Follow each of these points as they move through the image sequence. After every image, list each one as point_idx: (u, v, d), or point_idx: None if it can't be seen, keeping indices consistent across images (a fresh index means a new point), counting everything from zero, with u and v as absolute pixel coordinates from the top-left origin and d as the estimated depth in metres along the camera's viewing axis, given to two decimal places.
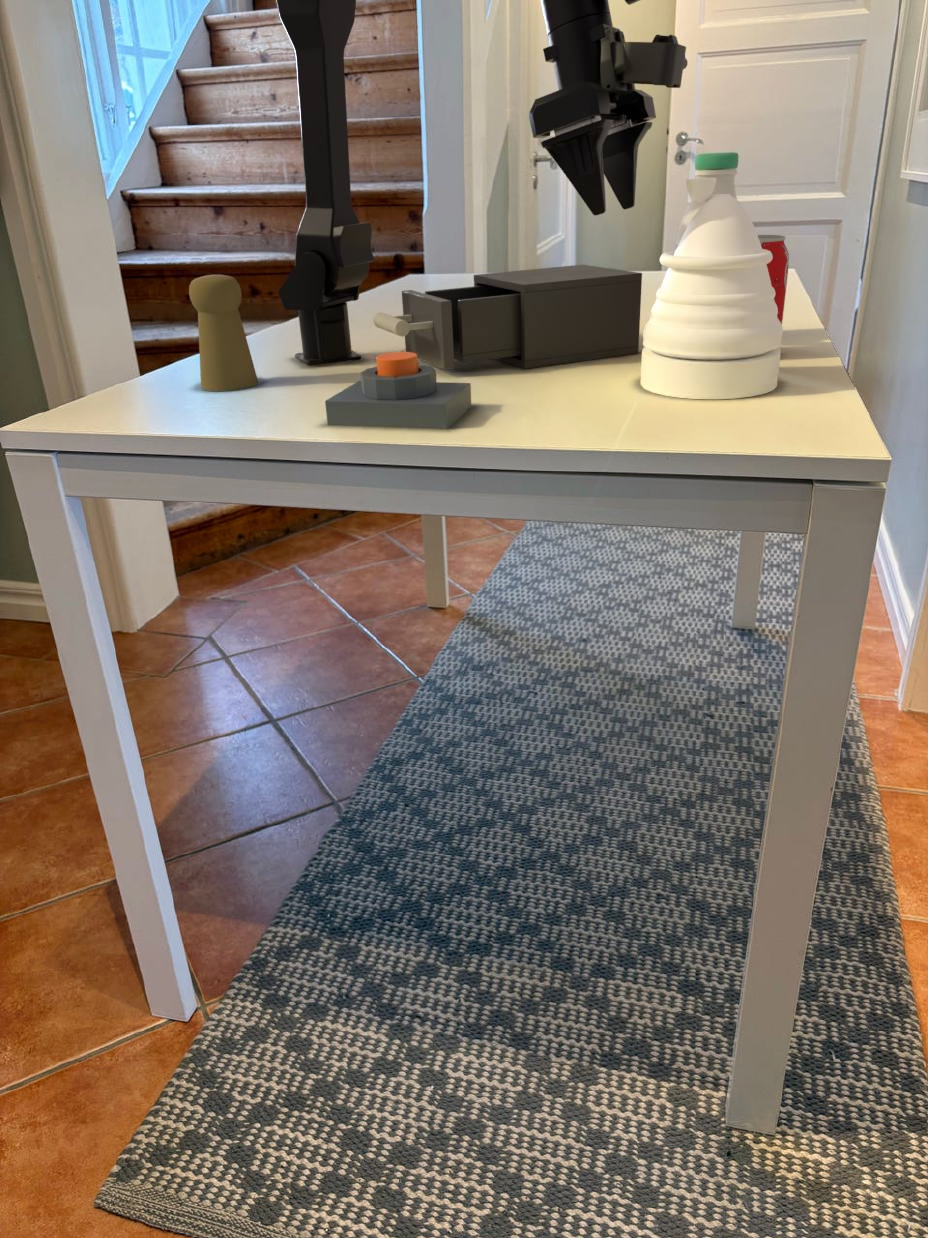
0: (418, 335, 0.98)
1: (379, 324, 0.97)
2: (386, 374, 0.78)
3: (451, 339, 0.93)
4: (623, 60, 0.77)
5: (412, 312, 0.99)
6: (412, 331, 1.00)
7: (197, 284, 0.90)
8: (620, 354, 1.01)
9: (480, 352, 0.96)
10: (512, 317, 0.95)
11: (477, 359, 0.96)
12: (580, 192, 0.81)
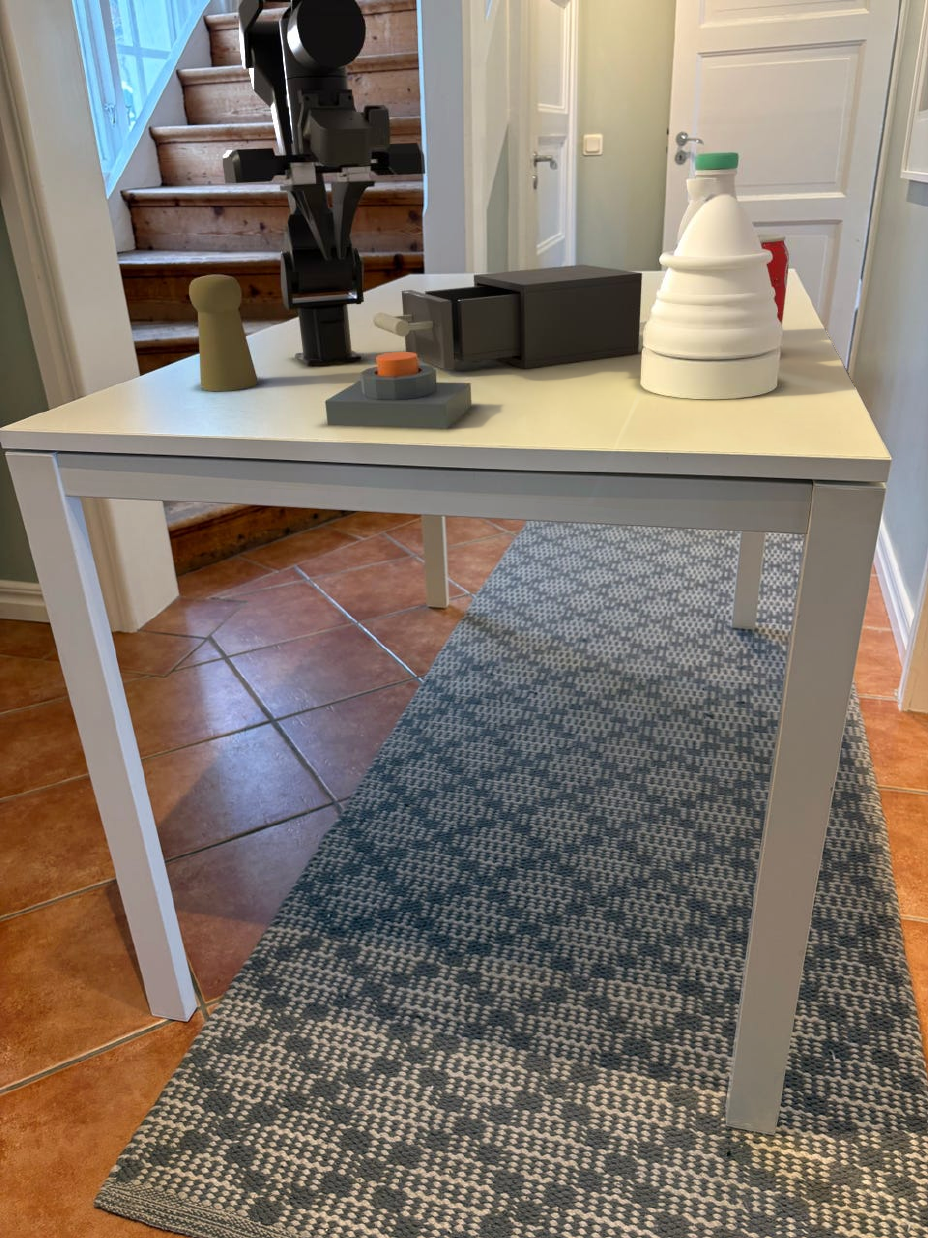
0: (418, 335, 0.98)
1: (379, 324, 0.97)
2: (386, 374, 0.78)
3: (451, 339, 0.93)
4: (306, 130, 0.81)
5: (412, 312, 0.99)
6: (412, 331, 1.00)
7: (197, 284, 0.90)
8: (620, 354, 1.01)
9: (480, 352, 0.96)
10: (512, 317, 0.95)
11: (477, 359, 0.96)
12: (314, 236, 0.90)
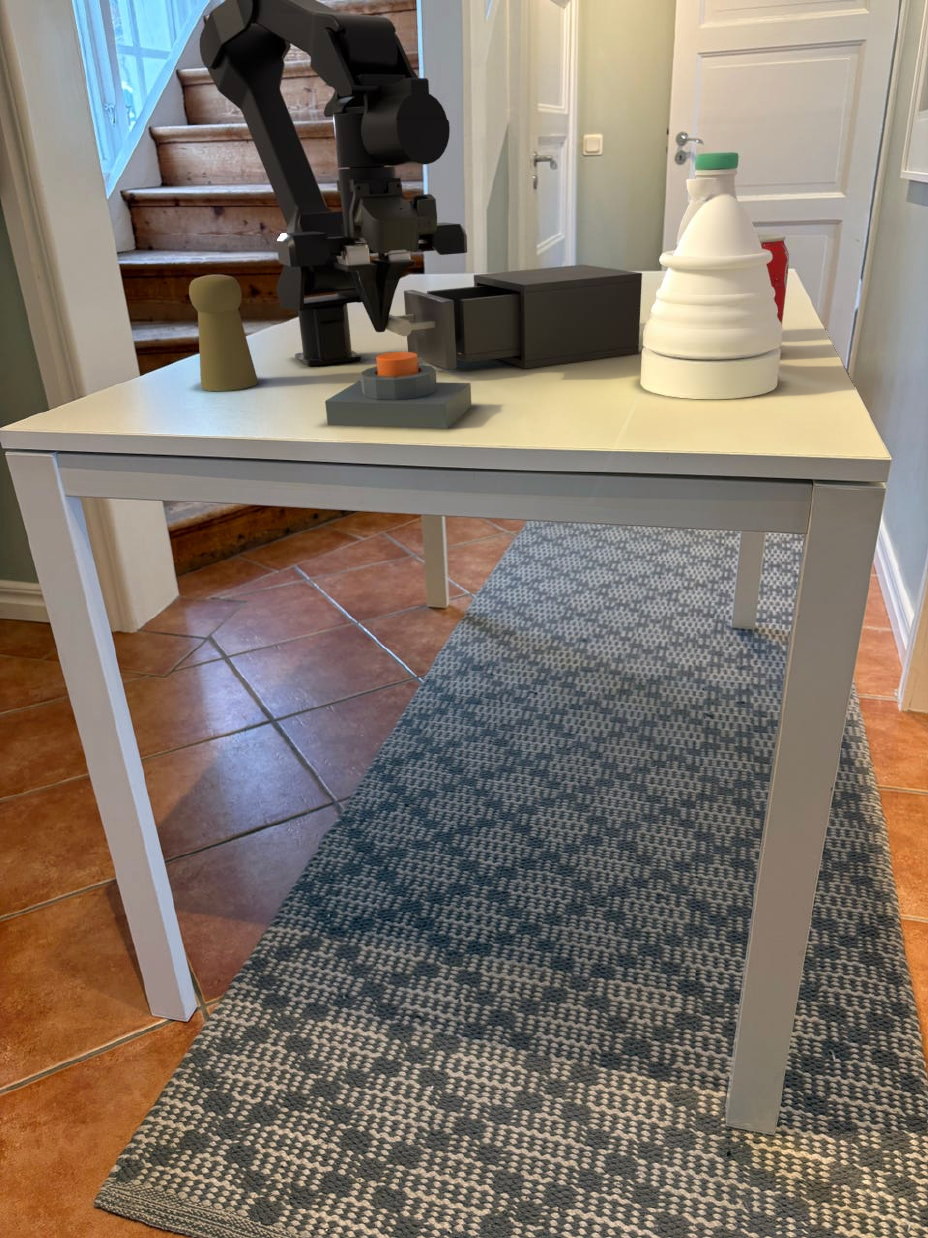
0: (420, 335, 0.99)
1: None
2: (386, 374, 0.78)
3: (453, 339, 0.93)
4: (357, 217, 0.86)
5: (415, 312, 0.99)
6: (414, 331, 1.00)
7: (197, 284, 0.90)
8: (620, 354, 1.01)
9: (482, 352, 0.96)
10: (514, 316, 0.96)
11: (479, 359, 0.96)
12: (366, 309, 0.95)
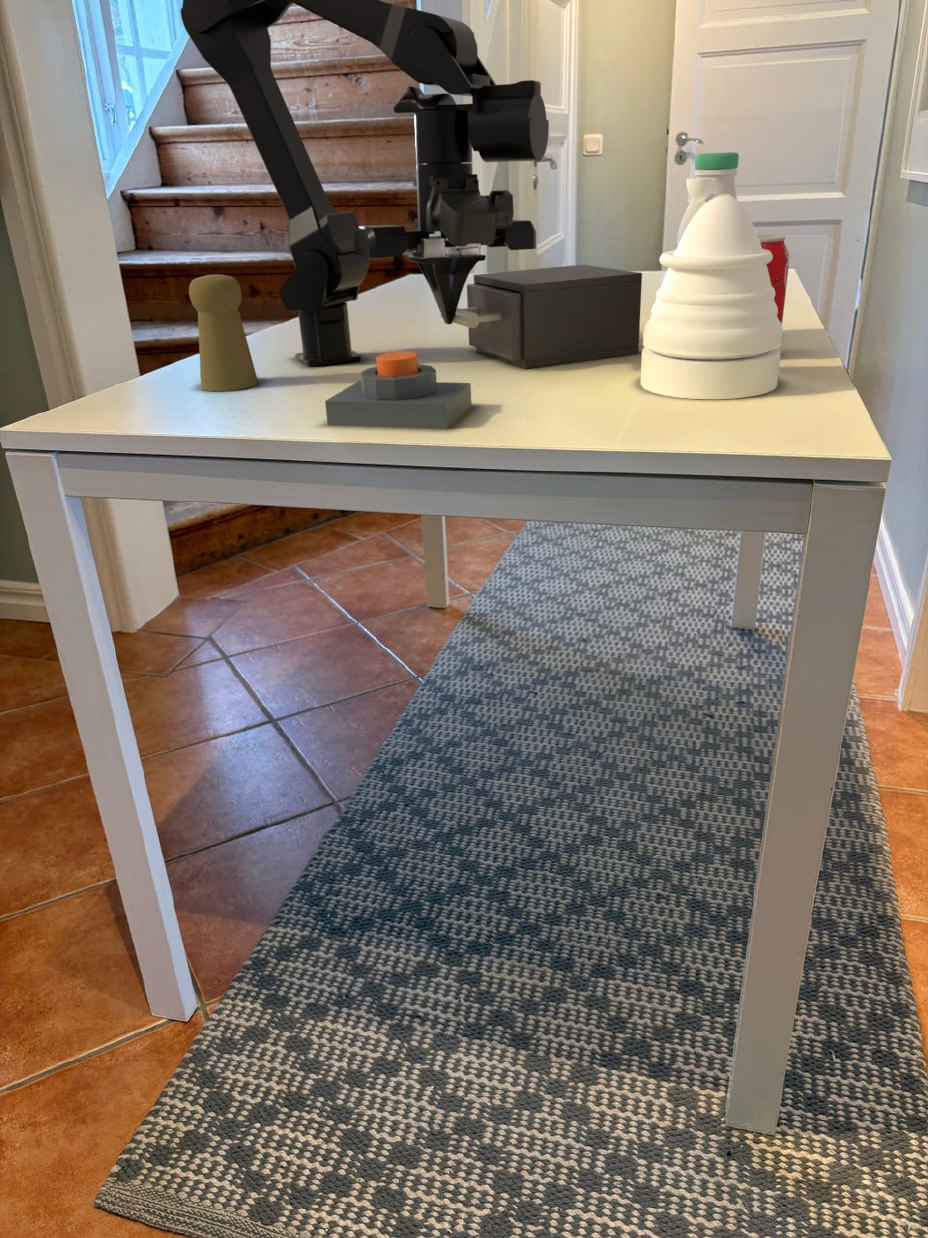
0: (484, 327, 1.01)
1: None
2: (386, 374, 0.78)
3: (520, 331, 0.96)
4: (436, 211, 0.89)
5: (478, 305, 1.01)
6: (477, 323, 1.03)
7: (197, 284, 0.90)
8: (620, 354, 1.01)
9: None
10: None
11: None
12: (436, 302, 0.98)
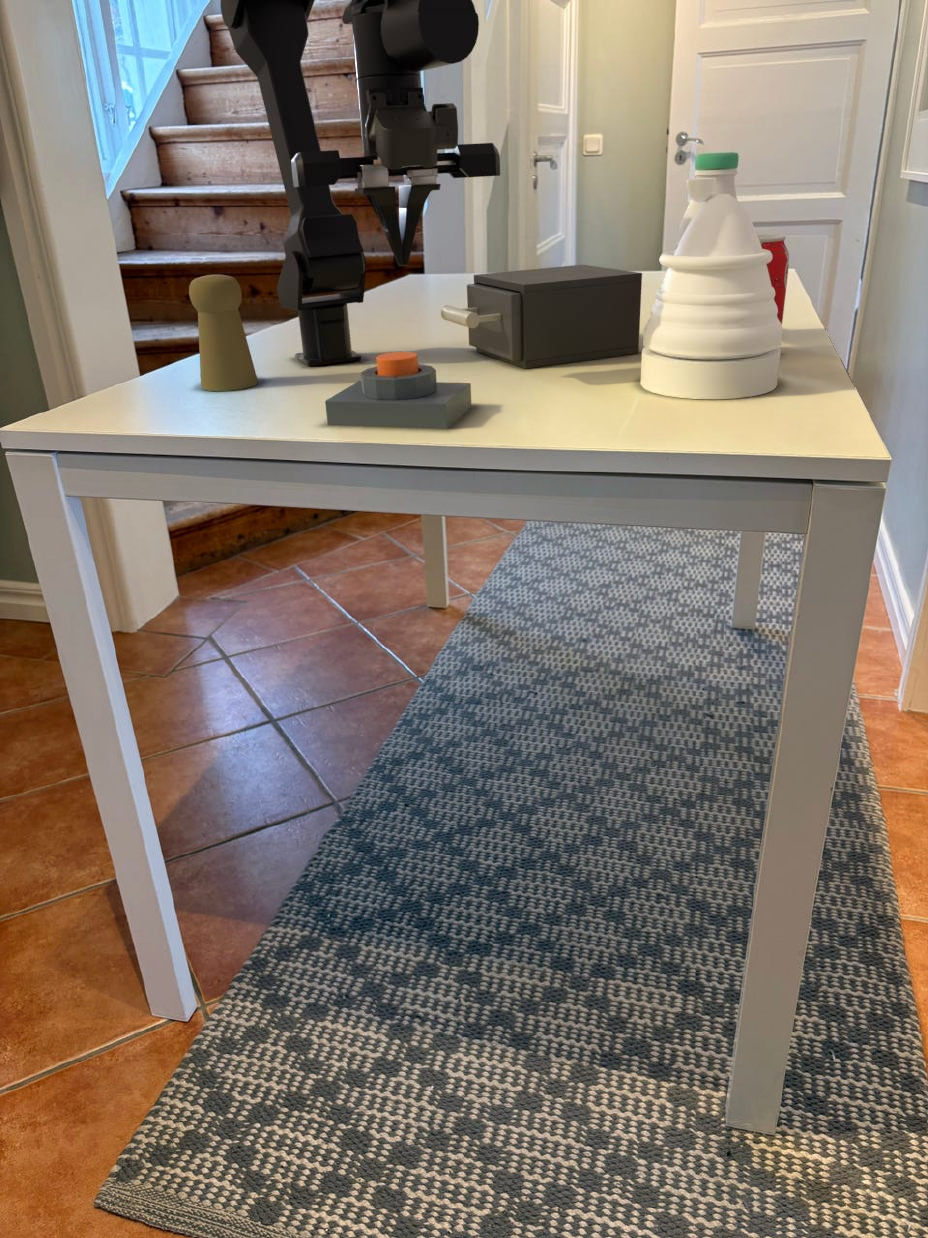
0: (484, 327, 1.01)
1: (447, 316, 0.99)
2: (386, 374, 0.78)
3: (520, 331, 0.96)
4: (371, 131, 0.78)
5: (478, 305, 1.01)
6: (477, 323, 1.03)
7: (197, 284, 0.90)
8: (620, 354, 1.01)
9: None
10: None
11: None
12: (388, 241, 0.87)
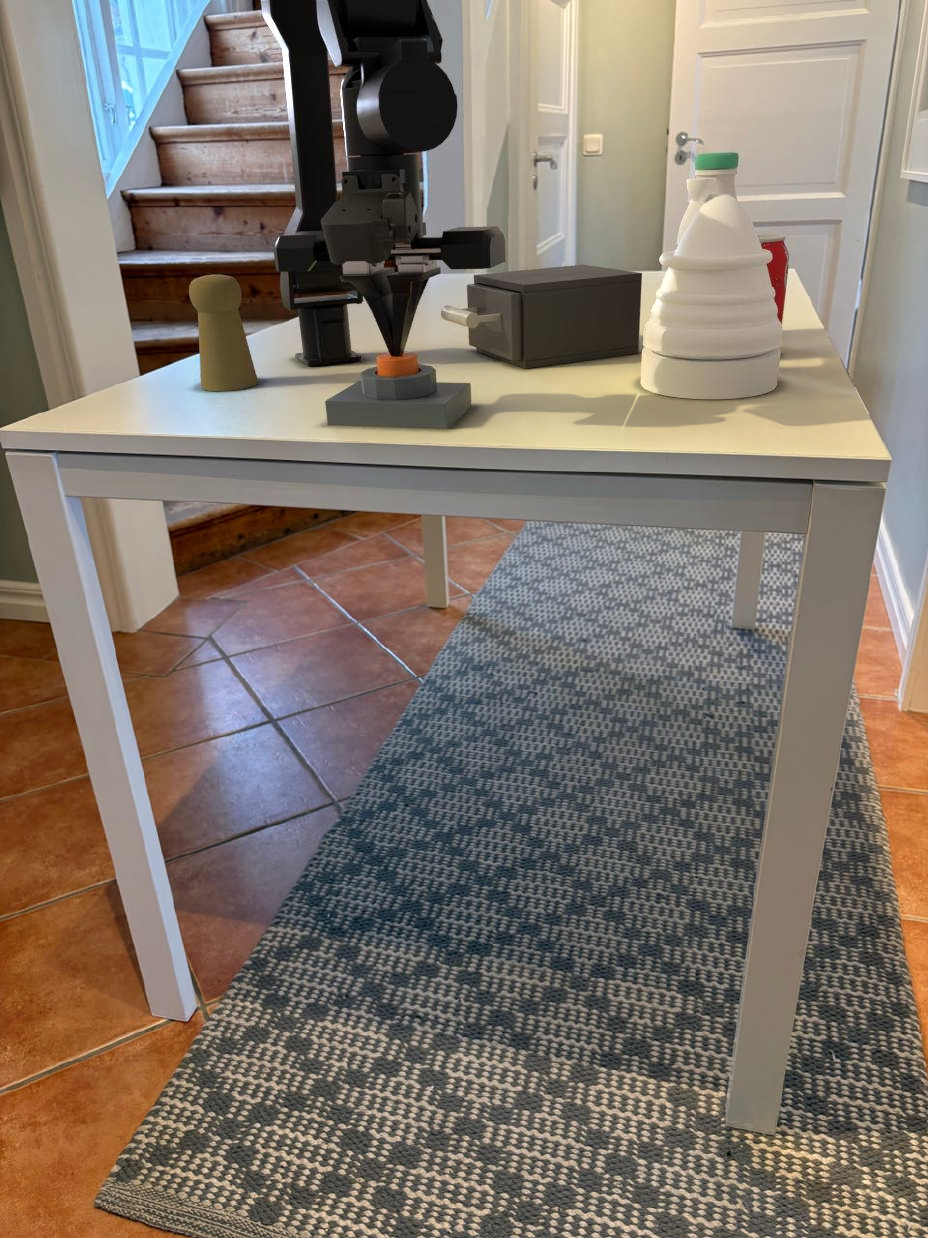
0: (484, 327, 1.01)
1: (447, 316, 0.99)
2: (386, 374, 0.78)
3: (520, 331, 0.96)
4: None
5: (478, 305, 1.01)
6: (477, 323, 1.03)
7: (197, 284, 0.90)
8: (620, 354, 1.01)
9: None
10: None
11: None
12: None
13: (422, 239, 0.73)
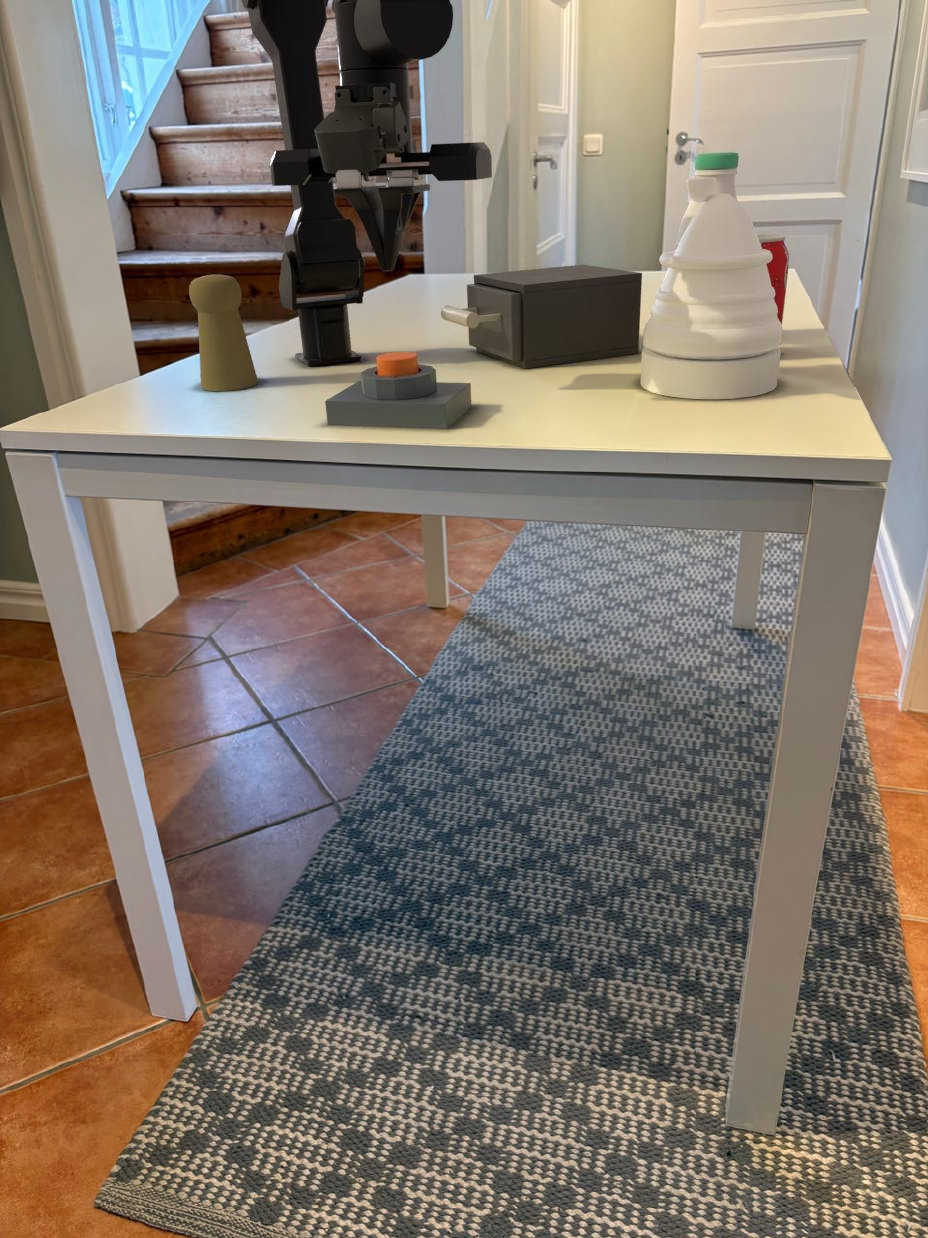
0: (484, 327, 1.01)
1: (447, 316, 0.99)
2: (386, 374, 0.78)
3: (520, 331, 0.96)
4: None
5: (478, 305, 1.01)
6: (477, 323, 1.03)
7: (197, 284, 0.90)
8: (620, 354, 1.01)
9: None
10: None
11: None
12: None
13: (412, 153, 0.76)
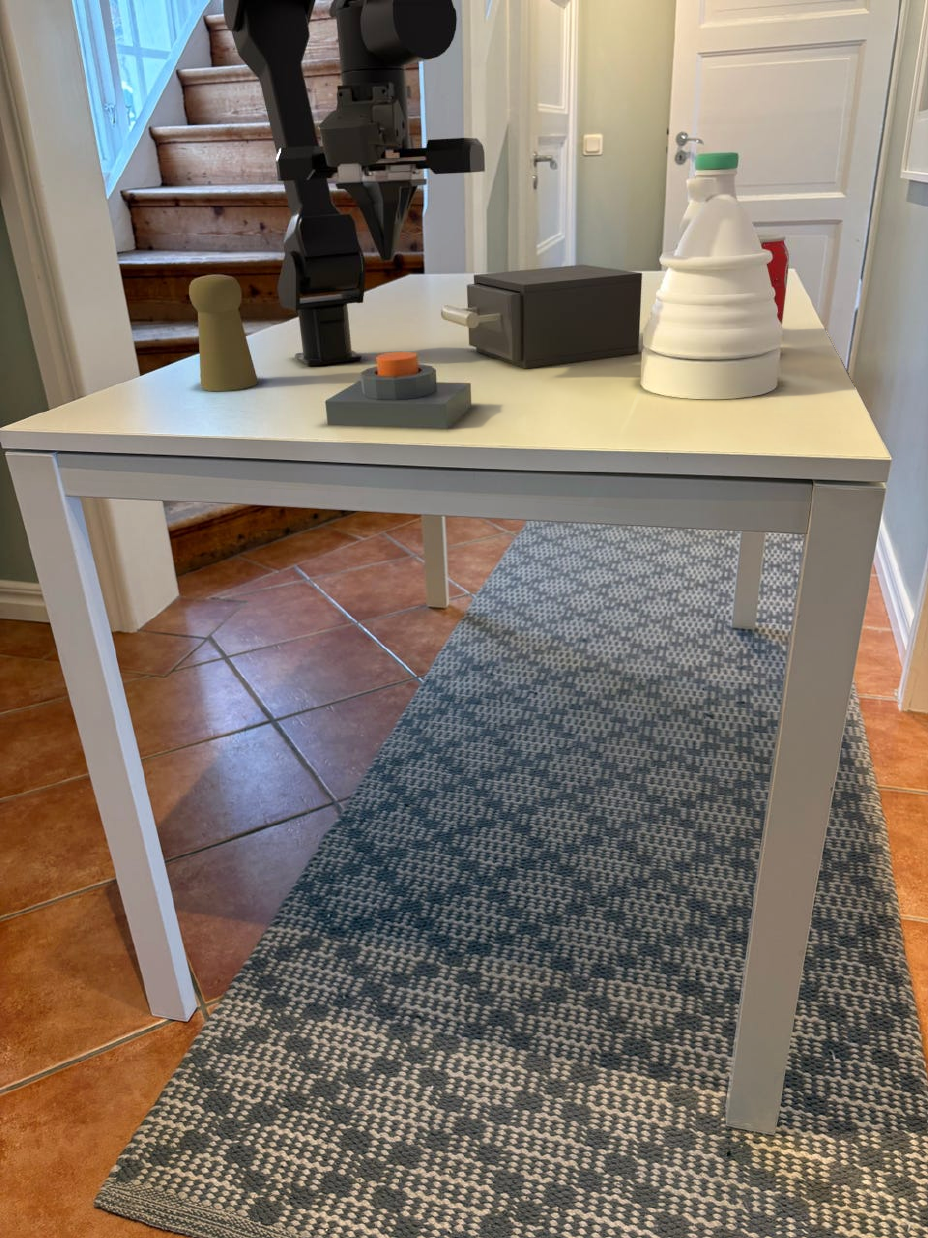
0: (484, 327, 1.01)
1: (447, 316, 0.99)
2: (386, 374, 0.78)
3: (520, 331, 0.96)
4: None
5: (478, 305, 1.01)
6: (477, 323, 1.03)
7: (197, 284, 0.90)
8: (620, 354, 1.01)
9: None
10: None
11: None
12: None
13: (409, 149, 0.81)
